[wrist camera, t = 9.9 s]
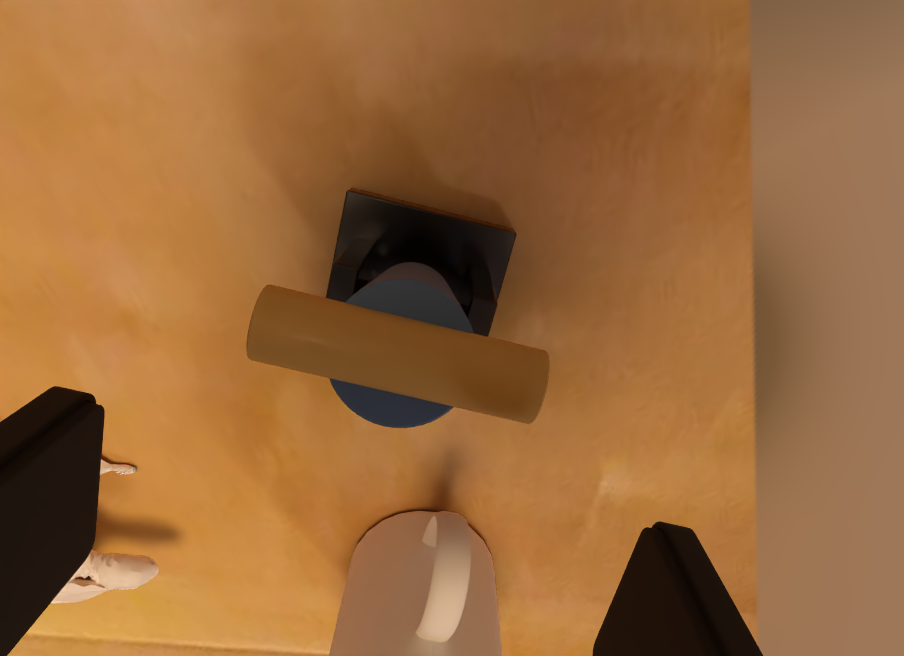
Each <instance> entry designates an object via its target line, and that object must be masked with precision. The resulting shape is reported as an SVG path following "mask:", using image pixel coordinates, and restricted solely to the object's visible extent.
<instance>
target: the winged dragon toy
mask: <svg viewBox="0 0 904 656" xmlns="http://www.w3.org/2000/svg"><path fill="white" fill-rule="evenodd" d="M111 470H113V471H117V472H116V473H120V474H119V475H122V474H126V475H127V474H131V473H134V472H136V470H135V467H132V466H130V465H126V464H120V465H117V464H109V463H107V462H105V461H103V460H102V459H101V468H100V475H102V474H104V473H106V472H109V471H111ZM116 473H115V474H116ZM119 475H118V476H119ZM158 571H159V570H158V567H157V564H156V563H155V561H154V560H152V559H151V558H150V557H147V556H142V555H128V554H118V553H101V552H97V551H94V550H91V552H90V554H89V556H88V558H87V559H86V560H85V562H84V563H83V564H82V566H81V567H80V568H79V569H78V570H77V572H76V573H75V574H74V575H73V576H72V578H71V579H70V580H69V581H68V582H67V584H66V585H65V586H64V587H63V588H62V590H61V591H60V592H59V593H58V595H57V596H56V597H55V598H54V599H53V601H52V602H51V604H55V603H75V602H81V601H84V600H87V599H90V598H92V597H95V596H97V595H99V594H102V593H104V592H106V591H108V590H114V589H117V590H119V589H120V590H122V589H124V590H129V589H131V590H132V589H135V588H138V587H140V586H141V585H143V584H145V583H147V582H148V581H149V580H151V579H152V578H153V577H155V576H156V575H157V574H158ZM77 576H80V577H83V578H84V579H85V578H86V577H87V576H90V577H91V580H81V579H74V578H75V577H77ZM93 579H94V581H93ZM95 580H96V581H95Z"/></svg>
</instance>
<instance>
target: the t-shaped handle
mask: <svg viewBox="0 0 904 656" xmlns="http://www.w3.org/2000/svg"><path fill="white" fill-rule="evenodd" d="M247 356H248V358H249V359H250V360H253V361H257V362H261V363H266V364H270V365H275V366H279V367H283V368H288V369H292V370H296V371H301V372H305V373H309V374H314V375H318V376H322V377H327V378H329V379H330V382H331V384H332V386H333V388H334V390H335V391H336V393H337V395H338V396H339V397H340V399H341V400H342V401H343V402H344V403H345V404H346V405H347V406H348V407H349V408H350V409H351V410H352V411H353V412H355V413H356V414H357V415H359V416H361V417H362V418H364V419H366V420H368V421H370V422H372V423H375V424H378V425H382V426H386V427H393V428H408V427H415V426H420V425H424V424H426V423H429V422H432V421H434V420H436V419H438V418H440V417H441V416H443V415H444V414H446V413H447V412H448V411H450V410H451V409H452V408H453V407H457V408H462V409H466V410H470V411H475V412H479V413H483V414H488V415H492V416H496V417H501V418H505V419H509V420H514V421H518V422H522V423H527V424H530V423H532V422H533V421H534V420H535V419H536V417H537V415H538V413H539V411H540V409H541V406H542V403H543V400H544V397H545V393H546V388H547V383H548V377H549V356H548V353H547V352H546V351H544V350H541V349H537V348H532V347H528V346H524V345H520V344H516V343H511V342H507V341H503V340H499V339H495V338H491V337H486V336H482V335H478V334H474V332H473V330H472V327H471V324H470V322H469V320H468V318H467V316H466V315H465V313H464V311H463V309H462V308H461V306H460V304H459V303H458V301H457V299H456V298H455V296H454V294H453V293H452V291H451V289H450V287H449V286H448V284H447V282H446V281H445V280H444V278H443V277H442V276H441V275H440V274H439V273H438V272H437V271H436V270H434V269H433V268H431V267H429V266H427V265H424V264H421V263H416V262H407V263H401V264H397V265H395V266H392V267H391V268H389V269H387V270H386V271H384V272H383V273H382V274H380V275H379V276H378V277H376V278H375V279H374V280H372V281H371V282H370V283H368V284H367V285H366V286H364V287H363V288H362V289H360V290H359V291H358V292H356V293H355V294H354V295H352V296H351V297H350V298H349V299H348V300H347V301H346V302H341V301H336V300H332V299H328V298H324V297H320V296H315V295H311V294H307V293H303V292H299V291H295V290H290V289H286V288H282V287H278V286H274V285H267V286H265V287H264V289H263V290H262V292H261V293H260V295H259V297H258V299H257V302H256V304H255V307H254V310H253V313H252V317H251V320H250V325H249V330H248V336H247Z"/></svg>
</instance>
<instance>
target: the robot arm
mask: <svg viewBox="0 0 904 656" xmlns="http://www.w3.org/2000/svg"><path fill="white" fill-rule="evenodd" d="M103 428H104V408H103V406H101V405H98V404H96V400H95V397H94V396H93V395H92V394H89V393H85V392H80V391H76V390H71V389H67V388H63V387H56V386H54V387H52V388H50V389H48V390H47V391H45V392H44V393H42V394H41V395H40V396H38V397H37V398H35V399H34V400H32V401H31V402H29V403H28V404H26V405H25V406H23V407H22V408H20V409H19V410H18V411H16V412H15V413H13V414H12V415H10V416H9V417H7V418H6V419H4V420H3V421H1V422H0V656H7V655H8V654H9V653H10V651H11V650H12V649H13V648H14V647H15V645H16V644H17V643H18V642H19V640H20V639H21V638H22V637H23V636H24V634H25V633H26V632H27V631H28V630H29V628H30V627H31V626H32V625H33V624H34V622H35V621H36V620H37V619H38V617H39V616H40V615H41V614H42V613H43V611H44V610H45V609H46V608H47V607H48V605H49V604H50V603H51V602H52V601H53V599H54V598H55V597H56V596H57V595H58V593H59V592H60V591H61V590H62V588H63V587H64V586H65V585H66V584H67V582H68V581H69V580H70V579H71V578H72V576H73V575H74V574H75V573H76V572H77V570H78V569H79V568H80V567H81V566H82V564H83V563H84V562H85V560H86V559H87V558H88V556H89V554H90V552H91V550H92V547H93V544H94V541H95V533H96V520H97V507H98V494H99V481H100V468H101V454H102V441H103ZM593 656H763V655H762V653H761V651H760V649H759V647H758V646H757V644H756V642H755V640H754V638H753V637H752V635H751V633H750V631H749V629H748V628H747V626H746V624H745V622H744V620H743V619H742V617H741V615H740V613H739V611H738V610H737V608H736V606H735V604H734V602H733V601H732V599H731V597H730V595H729V594H728V592H727V590H726V588H725V586H724V585H723V583H722V581H721V579H720V577H719V576H718V574H717V572H716V570H715V568H714V567H713V565H712V563H711V561H710V559H709V558H708V556H707V554H706V552H705V550H704V549H703V547H702V545H701V543H700V541H699V540H698V538H697V536H696V534H695V533H694V531H693V530H692V529H690V528H687V527H682V526H678V525H673V524H669V523H664V522H660V521H659V522H656V523H655V524H654V525H653V526H652V528H648V527H647V528H644V529H643V530H642V532H641V534H640V536H639V539H638V541H637V543H636V546H635V548H634V550H633V553H632V555H631V558H630V560H629V562H628V565H627V567H626V569H625V572H624V574H623V576H622V579H621V581H620V584H619V586H618V588H617V591H616V593H615V595H614V598H613V600H612V603H611V605H610V607H609V610H608V612H607V614H606V617H605V619H604V621H603V624H602V626H601V629H600V631H599V633H598V636H597V638H596V640H595V644H594V648H593Z"/></svg>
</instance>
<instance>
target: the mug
mask: <svg viewBox="0 0 904 656" xmlns="http://www.w3.org/2000/svg"><path fill="white" fill-rule="evenodd" d="M329 656H502V647H501V636H500V625H499V615H498V604H497V593H496V582H495V571H494V566H493V561H492V556H491V554H490V552H489V550H488V548H487V546H486V544H485V542H484V541H483V540H482V539H481V538H480V537H479V536H478V534H477V533H476V532H475V531H474V530H473V529H472V528H471V527H469V525H468V523H467V520H466V518H465V517H464V516H462V515H461V514H458V513H453V512H448V511H440V512H428V511H413V512H407V513H400V514H397V515H395V516H392V517H390V518H387V519H385V520H383V521H381V522H380V523H379V524H377V525H376V526H375V527H373V528H372V529H370V530H369V531H368V532H367V533H366V534H365V535H364V537H363V538H362V539H361V541H360V542H359V543H358V544H357V546H356V548H355V551H354V554H353V556H352V559H351V562H350V567H349V571H348V575H347V580H346V584H345V588H344V593H343V597H342V601H341V606H340V610H339V614H338V619H337V623H336V627H335V632H334V636H333V641H332V645H331V649H330V654H329Z"/></svg>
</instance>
